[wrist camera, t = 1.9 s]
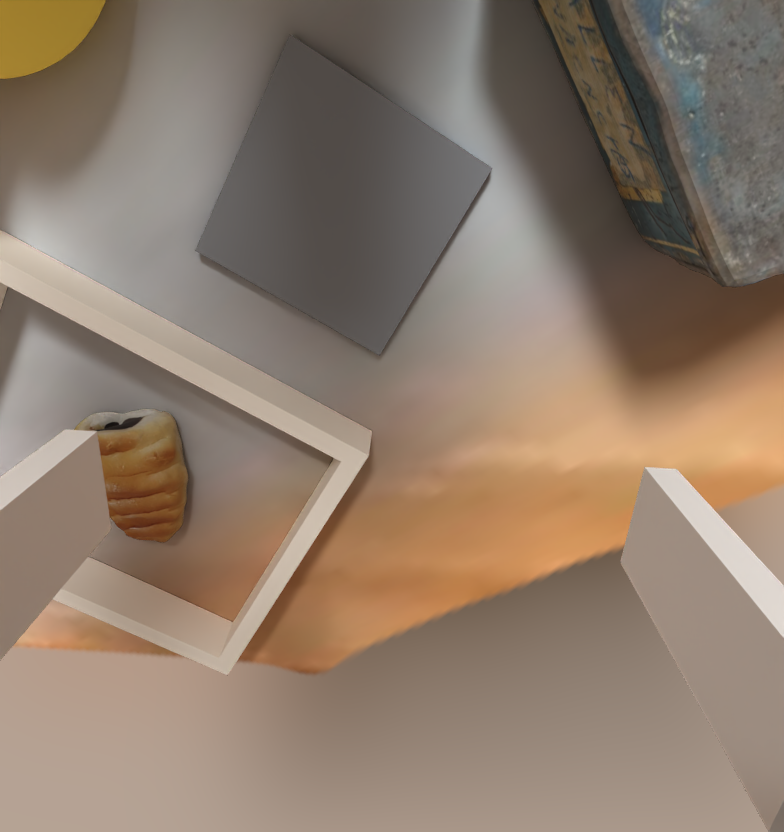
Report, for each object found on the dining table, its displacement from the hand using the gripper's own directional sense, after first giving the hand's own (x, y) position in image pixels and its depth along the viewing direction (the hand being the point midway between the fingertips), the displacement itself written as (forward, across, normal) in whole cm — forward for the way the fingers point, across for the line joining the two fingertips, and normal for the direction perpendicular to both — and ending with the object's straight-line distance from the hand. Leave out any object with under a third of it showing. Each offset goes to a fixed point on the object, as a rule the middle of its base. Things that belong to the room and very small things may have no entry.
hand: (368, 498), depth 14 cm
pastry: (+22, -16, -11) cm, 30 cm away
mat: (+22, -3, +5) cm, 23 cm away
